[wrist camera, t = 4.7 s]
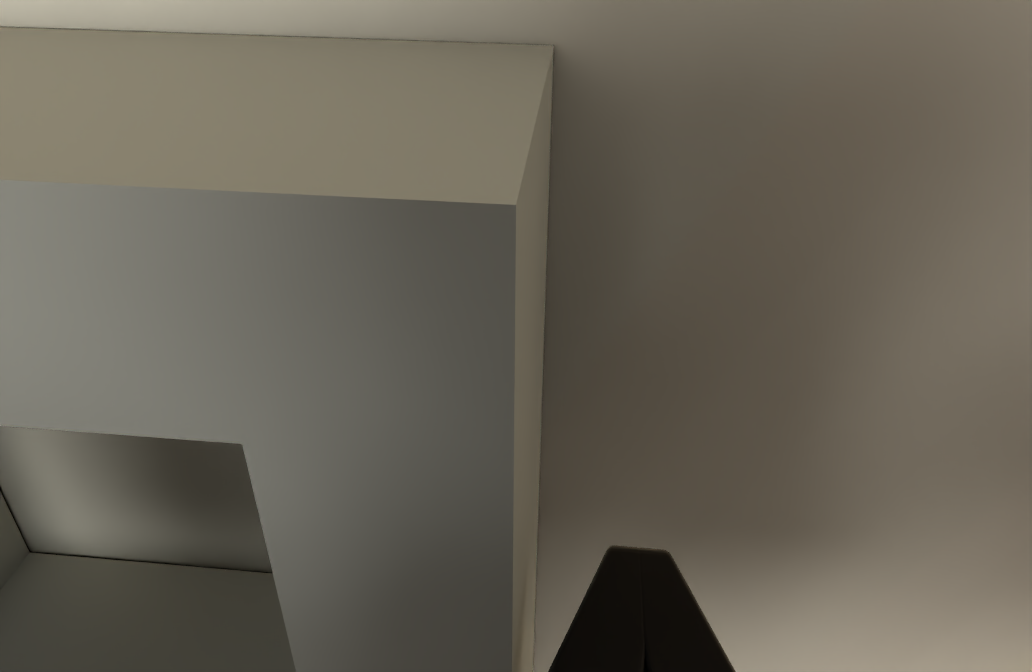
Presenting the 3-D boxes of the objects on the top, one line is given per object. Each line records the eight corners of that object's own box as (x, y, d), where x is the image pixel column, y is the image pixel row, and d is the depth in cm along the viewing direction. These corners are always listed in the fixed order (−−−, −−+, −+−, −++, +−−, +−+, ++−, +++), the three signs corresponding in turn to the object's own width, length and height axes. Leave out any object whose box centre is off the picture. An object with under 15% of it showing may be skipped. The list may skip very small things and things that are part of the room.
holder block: (532, 676, 14) (509, 935, 11) (-42, 621, 15) (-223, 848, 12) (554, 45, 8) (516, 204, 5) (-403, 14, 9) (-967, 132, 6)
